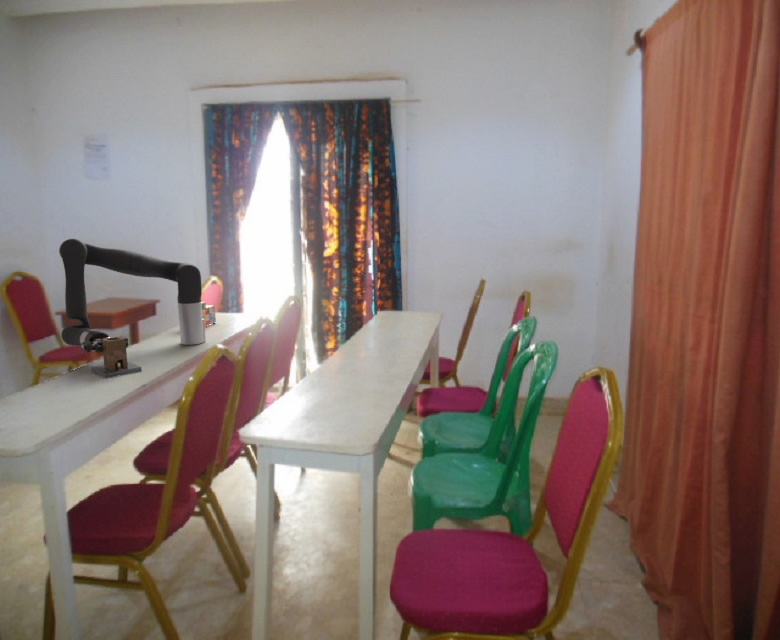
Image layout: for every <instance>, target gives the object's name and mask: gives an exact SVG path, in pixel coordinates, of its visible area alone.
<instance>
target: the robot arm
mask: <svg viewBox="0 0 780 640" xmlns="http://www.w3.org/2000/svg"><path fill="white" fill-rule="evenodd" d="M58 252H59V255H60V258H61V260H62V264H63V268H64V274H65V275H64V276H65V290H64V291H65V294H64V295H65V297H64V299H65V300H64V301H65V315H66V316H65V317H66V318H67V319H68V320H75V321H76V320H77V321H78V322H79V324H80V325H79V324H77V325H68V326H67V325H66V326H65V327H64V328H63V329H62V330H61V336H60V337H61V339H62V341H63V343H65V344H66V345H68V346H75V347H77V346H78V347H81V350H82V351H84V352H86V353H90V352H95V353H103V348H102V339H105V338H111V337H110V336H109V334H107V333H106V332H104V331H100V330H97V329H93V328H92V325H91V322H90V319H89V317H88V309H87V308H88V306H87V295H86V293H87V292H86V285H85V268H86V267H85V266H88V265H89V266H96V267H101V268H103V269H107V270H109V271H110V270H111V271H112V272H116V273H120V274H124V275H129V276H135V277H142V278H158V279H159V278H160V279H164V280H165V279H166V280H168V281H172V282H175V283H177V297H176V298H177V309H178V310H177V311H178V322H179V324H178V325H179V336H180V339H179V340H180V344H181V345H183V346H184V345H185V346H186V345H187V346H189V345H190V346H191V345H192V346H193V345H199V344H202V343H204V342H206V328H205V325H204V319H202V307H201V302H202V296H203V294H202V276H201V271H200V268H198V267H197V266H196V265H194V264H191V263H188V262H178V261H177V262H175V261H169V260H163V259H161V258H157V257H155V256H152V255H149V254H145V253H141V252H137V251H133V250H132V251H131V250H126V249H117V248H108V247H107V248H106V247H99V246H96V245H92V244H89V243H86V242H83V241H81V240H80V239H77V238H69V239H66V240H64V241H63V242H62V243H61V244H60V245H59V251H58ZM118 337H121V338H124V339H125V342H126V349H127V348H128V347H129V345H130V344H129V338H127V337H124V336H118Z"/></svg>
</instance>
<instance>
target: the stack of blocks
mask: <svg viewBox="0 0 780 640" xmlns="http://www.w3.org/2000/svg"><path fill="white" fill-rule="evenodd" d="M201 307H202V319H204V325H205V326H207V325H209V324H212V323H214V322H216V323H217V320H216V310H215V309H216V308H215V305H213V304H212V305H211V304H209V305H207V304H206V301H201Z"/></svg>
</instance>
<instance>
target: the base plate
mask: <svg viewBox="0 0 780 640" xmlns="http://www.w3.org/2000/svg"><path fill="white" fill-rule="evenodd" d="M127 364H128V367H126V368H123V367H122V366H121V363H120V362H119V361H118V360H117V361H115V370H109V369H107V368H104V364H103V365H97V366H94V367H93V366H91V367H90V370H91V373H93V372H94V373H93V374H95V373H96V375H97V374H98V376H99V377H102V376H103V377H102V378H104V377H105V378H104V379H109V378H108V377H110V378H113V376H115V377H118V375H120V376H125V375H129V374H134V373H138V371H139V372H142V366H141V365H137V364H134V363H132V362H131V361H130V362H129V361H127Z"/></svg>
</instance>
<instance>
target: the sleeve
mask: <svg viewBox="0 0 780 640" xmlns="http://www.w3.org/2000/svg"><path fill="white" fill-rule="evenodd" d="M121 337H122V336H120V337H119V336H113V337H110V338H105V339H102V348H103V352H102V357H103V365H104V368H107V369H109V370H115V361H117V360H118V361H119V362H120V363H121V366H122V367H123V368H126V367H128V364H127V362H128V354H127V348H126V342H125V339H124V338H125V337H124V338H121Z"/></svg>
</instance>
